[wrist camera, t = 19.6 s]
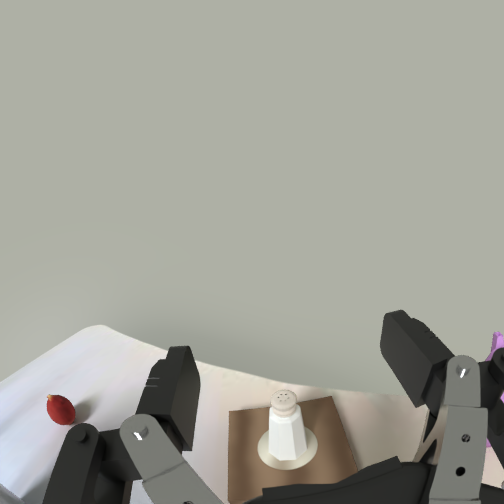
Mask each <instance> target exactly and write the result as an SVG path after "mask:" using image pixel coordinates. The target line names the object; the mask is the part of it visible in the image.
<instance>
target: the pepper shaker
mask: <svg viewBox="0 0 504 504" xmlns="http://www.w3.org/2000/svg"><path fill="white" fill-rule="evenodd" d="M296 401H297V397H296V394H295V393H294V392H292V391H289V390H280V391H277V392H275V393H274V394H273V395H272V396H271V399H270V402H271V405H272V407H270V410H269V453H270V454H272V455H273V456H274V457H276V458H277V459H278V460H280V461H281V460H296V459H297V458H298V457H300V456H301V455H302V454H303V453H304V452H305V451H306V450H307V441H306V434H305V429H304V424H303V419H302V414H301V409H300V406H299V405H297V404H296Z"/></svg>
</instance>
